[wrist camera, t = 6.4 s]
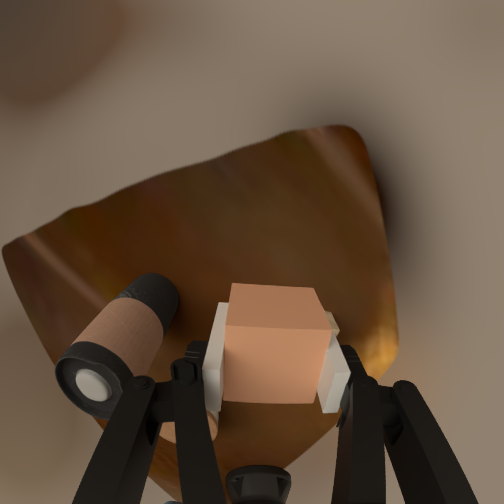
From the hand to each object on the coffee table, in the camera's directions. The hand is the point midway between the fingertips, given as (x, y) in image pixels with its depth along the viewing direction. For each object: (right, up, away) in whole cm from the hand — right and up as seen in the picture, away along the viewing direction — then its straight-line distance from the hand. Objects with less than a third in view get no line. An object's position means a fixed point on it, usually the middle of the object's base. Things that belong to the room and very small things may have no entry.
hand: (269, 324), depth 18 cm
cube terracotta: (0, 0, 0) cm, 0 cm away
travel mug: (-15, -2, +21) cm, 25 cm away
